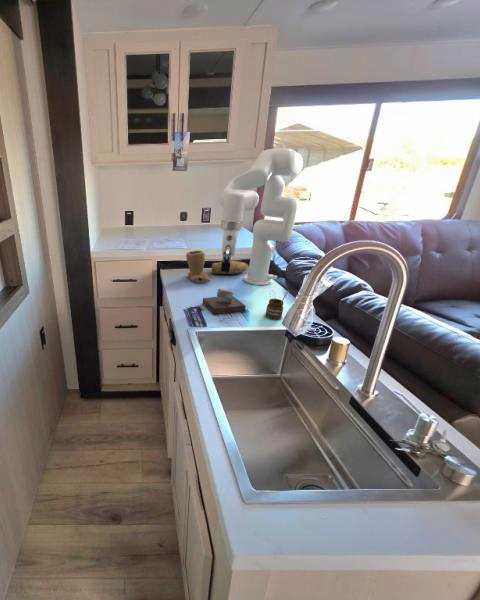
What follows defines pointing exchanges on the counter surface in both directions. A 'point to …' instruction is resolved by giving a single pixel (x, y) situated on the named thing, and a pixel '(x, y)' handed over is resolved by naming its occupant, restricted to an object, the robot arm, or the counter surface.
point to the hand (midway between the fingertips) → (225, 268)
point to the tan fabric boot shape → (197, 266)
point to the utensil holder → (275, 308)
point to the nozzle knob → (224, 296)
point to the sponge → (234, 267)
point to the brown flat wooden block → (223, 306)
